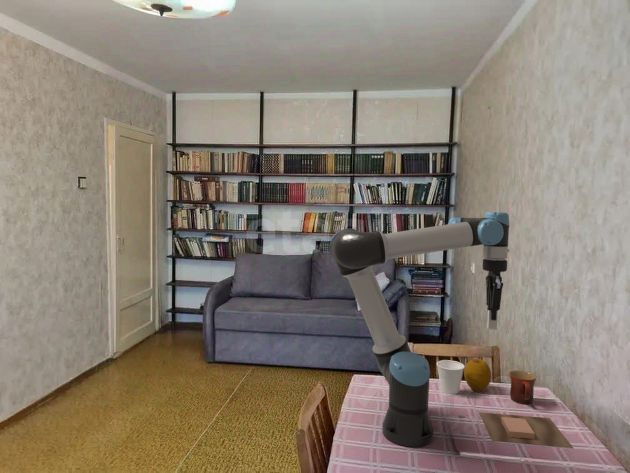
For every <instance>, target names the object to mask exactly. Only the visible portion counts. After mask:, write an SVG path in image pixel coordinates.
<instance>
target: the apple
mask: <svg viewBox="0 0 630 473" xmlns="http://www.w3.org/2000/svg"><path fill="white" fill-rule="evenodd" d="M463 376H464V378H465V382H466V384H467V385H468V387H469V389H470V388H471V390H473V391H475V392H483V391H485V390H486V389H487V388H488V386H489V385H490V383H491V380H492V372H491V369H490V366H489V365H488V363H487V362H486V361H485V360H484V359H482V358H475V359H471V360H469V361H468V362H467V363H466V365H465V368H464V370H463Z"/></svg>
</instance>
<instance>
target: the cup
mask: <svg viewBox="0 0 630 473" xmlns="http://www.w3.org/2000/svg"><path fill="white" fill-rule="evenodd" d="M436 366H437V371H438V372H437V374H438V380H439V388H440V392H442V393H444V394H446V395H458V394H460V393H459V392H460V387H461V383H462V380H463V379H462V378H463V375H464V370H465V367H466V365H465V364H463V363H461V362H459V361H456V360H448V359H442V360H438V361H437V362H436Z"/></svg>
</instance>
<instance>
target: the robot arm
mask: <svg viewBox="0 0 630 473" xmlns="http://www.w3.org/2000/svg"><path fill="white" fill-rule="evenodd" d="M509 233H510V215H509V214H508V212H505V211H503V212H502V211H500V212H499V211H494V212H493V211H486V212H485V213H484V216H483V217H460V216H459V217H452V218H450V219H449V220H448V223H447V224H442V225H435V226H429V227H422V228H415V229H410V230H402V231H396V232H390V233H389V232H388V233H384V232H382V231H379V230H378V231H371V232H367V231H358V230H357V229H354V228H344V229H341V230H338V231H337V232H336V233H335V234H334V235H333V236H332V238H331V239H330V243H329V252H330V255H331V257H332V258H333V259H334V261H335V264H336V266H337V268H338V270H339V272H340V273H339V274H340V276H341V277H343V278H346V279H347V280H348V282H349V285H350V287H351V290H352V292H353V295H354V297H355V299H356V301H357V304H358V307H359V308H360V312H361V313H362V314H361V315H362V316H363V318H364V321H365V323H366V326H367V328H368V330H369V333H370V336H371V338H372V340H373V342H374V345H373V346H372V352H373V355H374V357H375V359H376V365H377V367H378V369H379V371H380V373H381V374H382V376H383V377H384V379H385V381H386V382H387V383H388V387H389V388H388V390H389V391H388V408H387V410H386V414H385V416H384V419H383V422H382V428H381V430H382V435H383V436H384V437H385V439H387V440H389V441H390V442H392V443H394V444H396V445H400V446H403V447H408V448H409V447H413V448H418V447H423V446H426V445H428V444H430V443H431V442H432V441H433V439H434V427H433V423H432V420H431V415H430V414H429V413H430V412H429V399H430V398H429V396H430V394H429V393H430V377H431V371H430V364H429V361H428V360H427V358H425V357H424V356H423V355H421V354H418V353H416V352H412V351H411V348H410V346H409V343H408V341H407V338H406V336H404V335H402V334H400V333H399V331H398V329H397V326H396V324H395V321H394V319H393V316H392V314H391V311H390V308H389V306H388V304H387V302H386V299H385V297H384V294H383V291H382V290H381V287H380V284H379V282H378V279H377V277H376V275H375V272H374V269H373V267H374V266H377V265H378V266H379V265H382V264H386V263H387V261H389V260H392V259H399V258H404V257H411V256H416V255H424V254H430V253H436V252H441V251H442V252H443V251H447V250H448V251H449V250H454V249H460V248H467V247H475V246H481V245H483V246H482V247H483V248H482V257H483V259H482V270H484V271H485V272H487V274H488V275H486V276H485V283H486V284H485V286H486V287H485V288H486V289H485V290H486V293H485V294H486V298H485V299H486V306H487V323H486V324H487V327H486V329H487V330H494V331H495V330H496V331H497V330H498V315H499V314H498V313H499V310H500V309H501V303H502V300H501V299H502V294H503V288H504V283H503V277H502V275H501V273H502V272H503V273H505V272H507V270H508V260H507V259H508V254H509V252H510V249H509Z"/></svg>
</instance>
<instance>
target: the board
mask: <svg viewBox="0 0 630 473" xmlns="http://www.w3.org/2000/svg"><path fill="white" fill-rule="evenodd" d="M478 414H479V416H480V419H481V420H482V423H483V425H484V426H485V427H484V428H485V429H486V431H487V433H488V434H489V437H490V439H491V441H492V442H499V443H508V444H509V443H510V444H519V445H520V444H521V445H531V446H543V447H553V448H565V449H574V446H572V444H571V443H570V442H569V441H568V439H567V438H566V436H565V435H564V434H563V433H562V432H561V431H560V429H559V427H558V426H557V425H556V424H555V422H554V421H553V420H552V419H551V418H550V417H541V416H531V415H530V416H529V415H528V416H527V415H517V414H515V415H514V414H505V413H493V412H481V411H479V412H478ZM501 417H509V418H521V419H525V420H526V421H527V423H528V424H529V426H530V427H531V429H532V430H533V432H534V433H535V437H534V439H528V438H517V437H509V435H508V433H507V432H506V430H505V428H504V426H503V424H502V423H501Z"/></svg>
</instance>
